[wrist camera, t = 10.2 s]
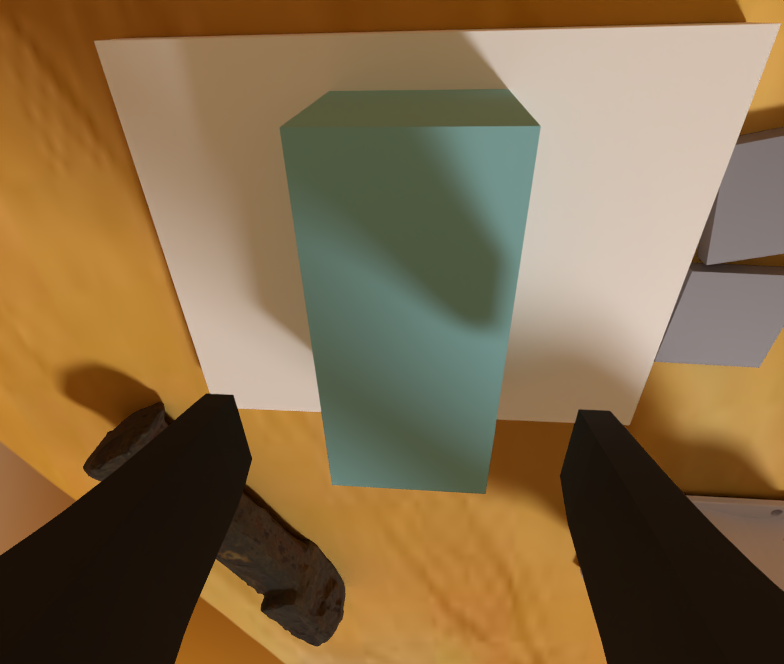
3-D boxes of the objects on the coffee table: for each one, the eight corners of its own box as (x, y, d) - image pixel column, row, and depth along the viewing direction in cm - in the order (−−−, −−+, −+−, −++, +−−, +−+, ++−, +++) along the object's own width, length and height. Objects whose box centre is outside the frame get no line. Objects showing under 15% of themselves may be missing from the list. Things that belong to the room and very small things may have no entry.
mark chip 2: (791, 261, 17) (812, 276, 16) (742, 349, 19) (759, 367, 18) (677, 256, 17) (692, 271, 16) (643, 343, 19) (654, 361, 18)
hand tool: (112, 414, 24) (52, 489, 21) (166, 390, 23) (112, 466, 19) (313, 587, 33) (297, 662, 30) (360, 578, 32) (350, 654, 28)
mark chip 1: (853, 108, 14) (884, 116, 13) (815, 230, 16) (839, 245, 15) (707, 137, 15) (726, 146, 14) (690, 250, 17) (706, 265, 16)
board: (747, 22, 13) (781, 23, 11) (618, 400, 21) (629, 425, 19) (123, 38, 14) (93, 41, 13) (227, 385, 22) (214, 407, 21)
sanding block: (508, 88, 13) (540, 126, 9) (475, 389, 19) (485, 494, 15) (329, 90, 13) (278, 127, 9) (354, 384, 19) (332, 484, 15)
